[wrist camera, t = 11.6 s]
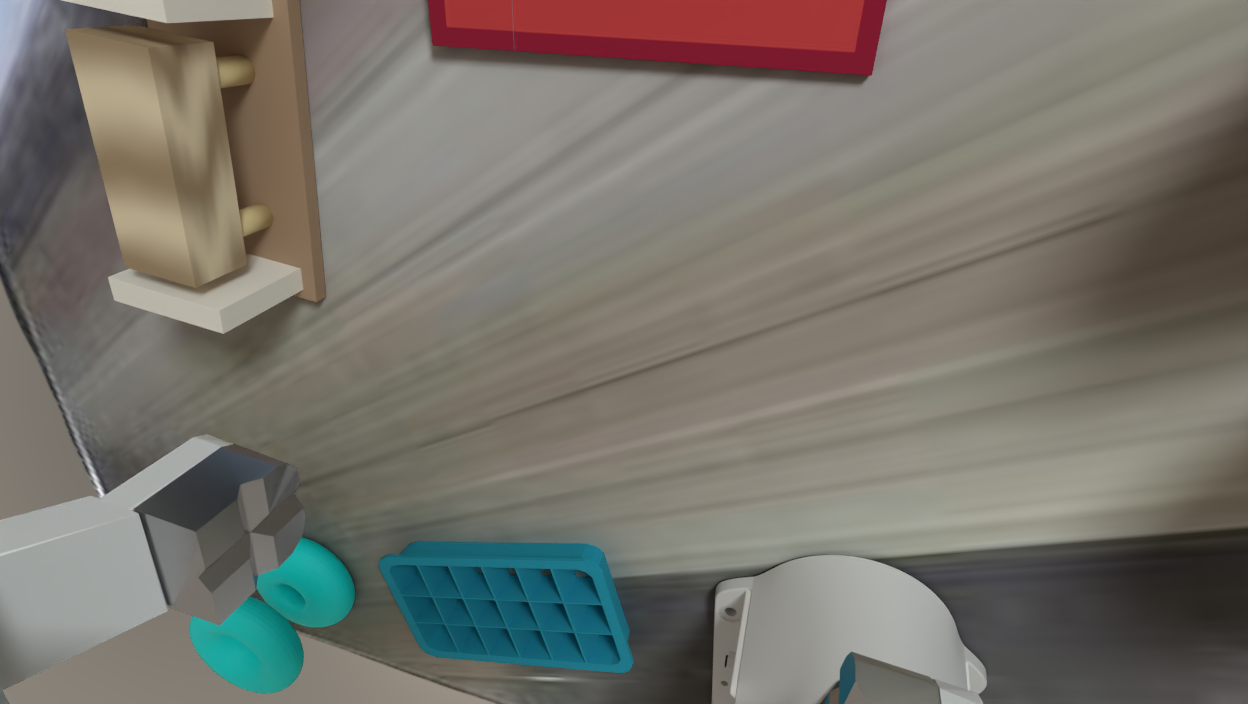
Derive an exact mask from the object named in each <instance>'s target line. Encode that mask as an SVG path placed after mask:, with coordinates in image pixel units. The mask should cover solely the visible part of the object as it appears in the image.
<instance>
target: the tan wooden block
mask: <svg viewBox="0 0 1248 704" xmlns="http://www.w3.org/2000/svg"><path fill="white" fill-rule="evenodd" d="M65 31H66V35H67V39H68V43H69V47H70V51H71V55H72V59H73V63H74V67H75V71H76V75H77V79H78V83H79V87H80V91H81V95H82V99H83V102H84V106H85V110H86V114H87V118H88V122H89V126H90V130H91V134H92V138H93V142H94V146H95V150H96V154H97V158H98V162H99V166H100V170H101V174H102V177H103V181H104V185H105V189H106V193H107V197H108V201H109V205H110V209H111V213H112V217H113V221H114V225H115V229H116V233H117V237H118V241H119V245H120V249H121V253H122V256H123V260H124V264H125V267H126V268H130V269H133V270H136V271H140V272H143V273H146V274H150V275H153V276H157V277H160V278H163V279H167V280H170V281H174V282H177V283H180V284H184V285H187V286H190V287H194V288H197V287H199V286H201V285H203V284H206V283H208V282H210V281H212V280H214V279H216V278H218V277H221V276H223V275H225V274H227V273H229V272H231V271H234V270H236V269H238V268H240V267H242V266H244V265H247V260H246V253H245V246H244V240H243V233H242V227H241V220H240V214H239V207H238V200H237V194H236V187H235V181H234V174H233V167H232V161H231V154H230V148H229V141H228V135H227V128H226V121H225V115H224V108H223V102H222V95H221V89H220V82H219V75H218V69H217V62H216V56H215V49H214V42H211V41H206V40H202V39H197V38H192V37H188V36H183V35H179V34H174V33H170V32H165V31H161V30H156V29H152V28H147V27H143V26H138V25H130V26H111V27H93V28H74V29H65Z"/></svg>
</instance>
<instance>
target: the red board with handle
mask: <svg viewBox="0 0 1248 704" xmlns="http://www.w3.org/2000/svg"><path fill="white" fill-rule="evenodd" d="M886 1H887V0H428V4H429V13H430V23H431V33H432V43H433V45H434V46H449V47H464V48H478V49H493V50H507V51H522V52H537V53H551V54H566V55H581V56H595V57H610V58H625V59H639V60H654V61H669V62H683V63H698V64H713V65H727V66H742V67H756V68H771V69H786V70H800V71H815V72H830V73H844V74H859V75H872V71H873V66H874V61H875V56H876V51H877V46H878V41H879V36H880V31H881V26H882V21H883V16H884V11H885V6H886Z"/></svg>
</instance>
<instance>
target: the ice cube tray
mask: <svg viewBox="0 0 1248 704" xmlns="http://www.w3.org/2000/svg"><path fill="white" fill-rule="evenodd" d="M446 566H448V568H449V570H450V572H451V573H449V571H448V569H447V567H446ZM477 567H481V570H482V572H483V574H479V572H478V570H477ZM508 568H515V571H516V573H517V575H510V572H509V570H508ZM379 569H380V571H381V573H382V575H383V577H384V579H385V581H386V583H387V584H388V586H389V588H390V590H391V592H392V594H393V596H394V598H395V600H396V602H397V604H398V606H399V608H400V610H401V612H402V614H403V616H404V618H405V620H406V622H407V624H408V625H409V627H410V629H411V631H412V633H413V635H414V637H415V639H416V641H417V643H418V645H419V647H420V648H421V649H422V650H423V651H425V652H426V653H427V654H429V655H432V656H435V657H439V658H451V659H463V660H475V661H486V662H498V663H510V664H522V665H534V666H545V667H557V668H569V669H581V670H592V671H604V672H616V673H624V672H627V671H629V670H630V669H631V667H632V665H633V662H634V660H633V657H632V654H631V651H630V648H629V645H628V642H627V641H628V637H629V632H630V631H629V628H628V625H627V622H626V619H625V616H624V613H623V610H622V607H621V604H620V601H619V598H618V595H617V592H616V589H615V586H614V582H613V579H612V576H611V573H610V570H609V567H608V564H607V561H606V558H605V555H604V552H602V551H601V550H600V549H599V548H597V547H596V546H592V545H589V544H559V543H476V542H415V543H411V544H409V545H408V546H407V547H406V548H405V549H404V550H403V552H402V553H401V554H400V555H394V554H388V555H386V556H384V557H382V558H381V559H380V560H379ZM540 569H550V570H551V573H552V576H543V575H542V572H541V570H540ZM574 570H579V571H583V572H586V573H587V574H588V575H590V576H591V577H576V574H575V571H574ZM461 599H463V600H461ZM491 600H495V601H491ZM522 602H528V603H522ZM554 603H562V604H554ZM587 605H602V606H587ZM503 628H505V629H503ZM533 630H536V631H533ZM565 632H568V633H565ZM572 633H574V634H572ZM597 634H599V635H597ZM603 635H612V636H603Z"/></svg>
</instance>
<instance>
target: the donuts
mask: <svg viewBox="0 0 1248 704" xmlns="http://www.w3.org/2000/svg"><path fill="white" fill-rule="evenodd" d="M256 588H257V590H258V592H259V593H260V595H261V596H262V598H263V599H264V600H265V602H266V603H267V604H266V603H264V602H262V601H260V600H258V599H255V598H253V597H250V596H249V597H248V598H247V599H246V600H245V601H244V602H243V603H242V604H241V605H240V606H239V607H238V608H237V609H236V610H235V611H234V612H233V613H232V614H231V615H230V616H229V617H228V618H227V619H226V620H225V621H224V622H223V623H222V624H221V625H220V626H219V625H216V624H214V623H211V622H208V621H205V620H203V619H200V618H197V617H194V616H192V618H191V621H190V627H189V628H190V638H191V641H192V643H193V645H194V647H195V649H196V651H197V653H198V654H199V656H200V657H201V658H202V660H203V661H204V662H205V663H206V664H207V665H208V666H209V667H210V668H211V669H212V670H213V671H214V672H216V673H217V674H218V675H220V676H221V677H222V678H224V679H225V680H227V681H228V682H230V683H232V684H234V685H236V686H238V687H240V688H242V689H245V690H248V691H252V692H256V693H274V692H278V691H281V690H283V689H285V688H287V687H288V686H289V685H291V684H292V683H293V682H294V681H295V680H296V678H297V677H298V675H299V674H300V671H301V669H302V666H303V658H304V656H303V655H304V653H303V648H302V644H301V641H300V638H299V636H298V634H297V633H296V631H295V629H294V628H293V627H292V625H291V624H290V623H289V622H288V620H290V621H292V622H294V623H297V624H300V625H303V626H307V627H326V626H330V625H333V624H336V623H337V622H339V621H341V620H342V619H343V618H345V617H346V616H347V614H348V613H349V612H350V610H351V608H352V606H353V604H354V599H355V588H354V584H353V580H352V577H351V575H350V573H349V572H348V570H347V568H346V567H345V566H344V564H343V563H342V562H341V561H340V560H339V559H338V558H337V557H336V556H335V555H334V554H333V553H332V552H331V551H329V550H328V549H327V548H325V547H324V546H322V545H320V544H318V543H317V542H314V541H312V540H310V539H307V538H304V537H301V539H300V541H299V543H298V545H297V546H296V548H295V550H294V552H293V553H292V554H291V555H290V556H289V558H288V559H287V560H286V561H285V562H284V563H283V564H282V565H281V566H280V567H279V568H277V569H274V570H271V571H269V572H266V573H264V574H261V575H259V576H258V580H257V586H256ZM287 619H288V620H287Z"/></svg>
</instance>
